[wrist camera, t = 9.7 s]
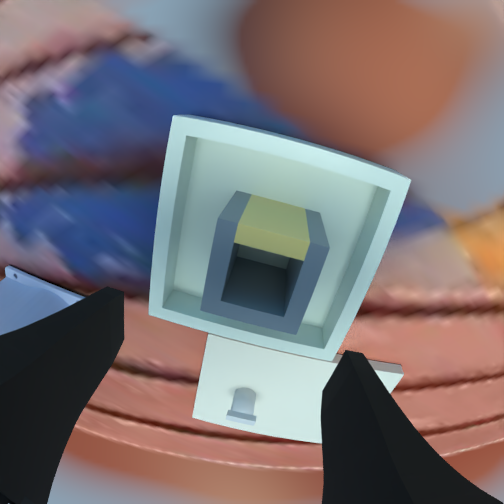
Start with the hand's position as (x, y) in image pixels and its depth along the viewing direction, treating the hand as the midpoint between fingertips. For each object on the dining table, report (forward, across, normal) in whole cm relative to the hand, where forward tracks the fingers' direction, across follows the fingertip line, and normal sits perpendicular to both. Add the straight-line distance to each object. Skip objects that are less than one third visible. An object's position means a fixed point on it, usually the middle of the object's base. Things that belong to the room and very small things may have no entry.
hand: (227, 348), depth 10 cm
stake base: (+9, -6, +12) cm, 16 cm away
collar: (+8, -1, 0) cm, 8 cm away
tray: (+9, -1, 0) cm, 9 cm away
